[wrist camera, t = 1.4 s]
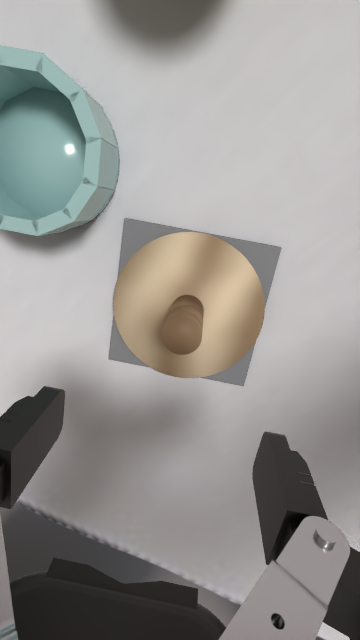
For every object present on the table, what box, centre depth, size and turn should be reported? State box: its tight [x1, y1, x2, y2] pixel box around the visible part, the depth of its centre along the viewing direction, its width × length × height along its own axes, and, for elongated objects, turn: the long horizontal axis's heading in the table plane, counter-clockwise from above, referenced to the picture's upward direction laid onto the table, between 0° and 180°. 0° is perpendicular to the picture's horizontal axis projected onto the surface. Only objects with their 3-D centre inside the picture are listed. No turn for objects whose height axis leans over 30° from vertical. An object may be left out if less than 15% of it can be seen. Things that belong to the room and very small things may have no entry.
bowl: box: [0, 45, 120, 236], centre depth 24 cm, size 11×11×5 cm
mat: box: [109, 218, 281, 386], centre depth 29 cm, size 13×13×1 cm
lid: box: [113, 232, 265, 378], centre depth 26 cm, size 13×13×7 cm
